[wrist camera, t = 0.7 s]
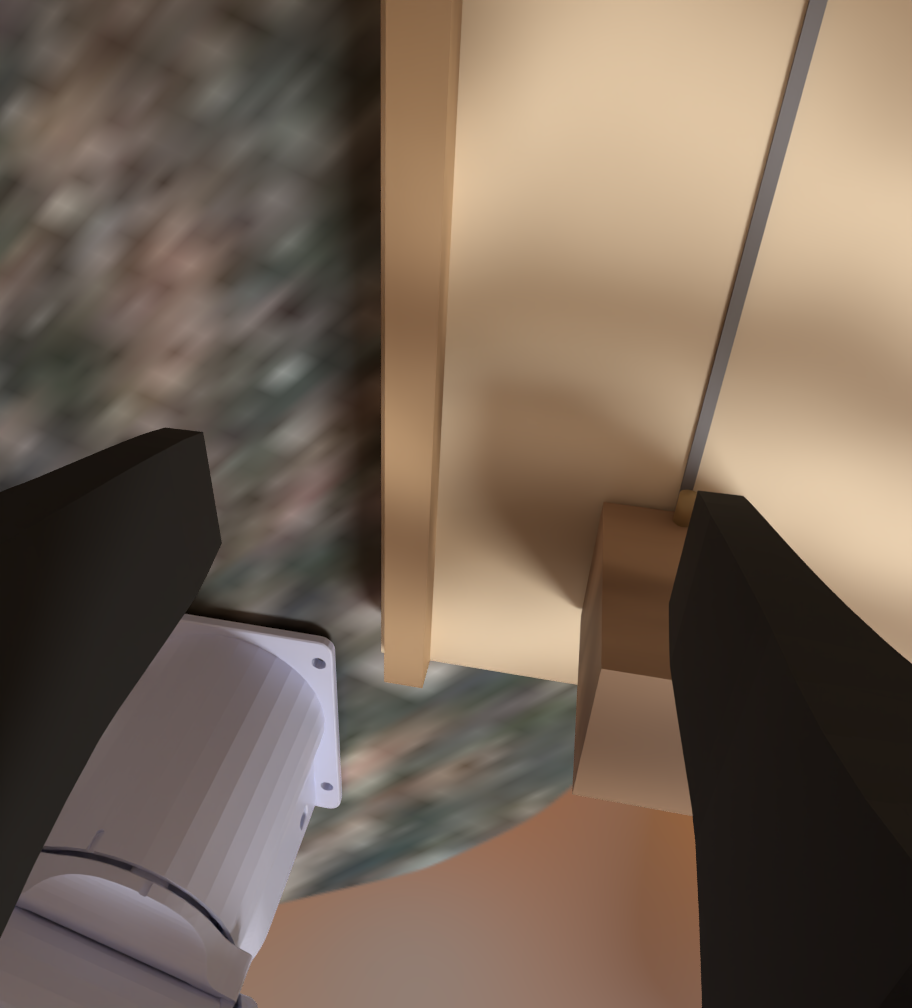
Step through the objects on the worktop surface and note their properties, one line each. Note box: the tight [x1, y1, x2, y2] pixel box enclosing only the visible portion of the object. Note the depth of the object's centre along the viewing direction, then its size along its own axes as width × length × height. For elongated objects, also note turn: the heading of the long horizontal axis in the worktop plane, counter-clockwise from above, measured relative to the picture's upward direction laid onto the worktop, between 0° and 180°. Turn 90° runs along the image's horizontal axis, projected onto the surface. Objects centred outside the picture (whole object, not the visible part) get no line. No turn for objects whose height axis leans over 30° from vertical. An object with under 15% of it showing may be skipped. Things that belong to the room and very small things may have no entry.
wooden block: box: [572, 490, 697, 816], centre depth 18 cm, size 5×4×6 cm
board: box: [381, 0, 912, 688], centre depth 17 cm, size 22×16×3 cm
